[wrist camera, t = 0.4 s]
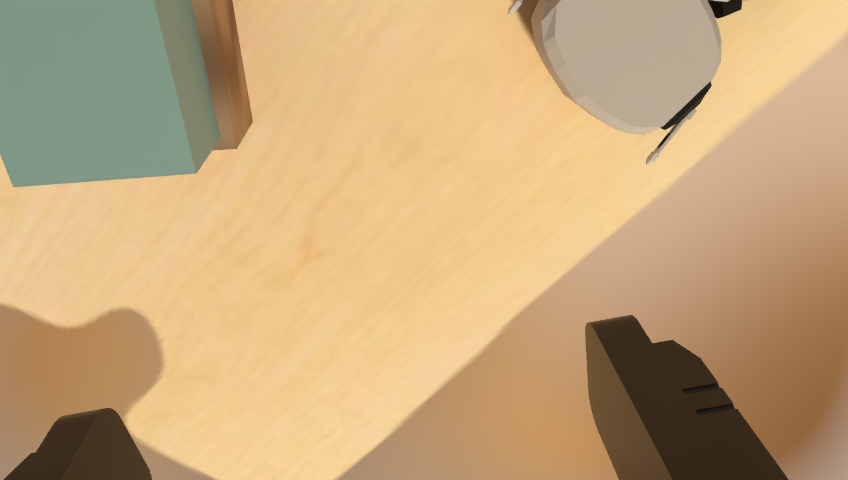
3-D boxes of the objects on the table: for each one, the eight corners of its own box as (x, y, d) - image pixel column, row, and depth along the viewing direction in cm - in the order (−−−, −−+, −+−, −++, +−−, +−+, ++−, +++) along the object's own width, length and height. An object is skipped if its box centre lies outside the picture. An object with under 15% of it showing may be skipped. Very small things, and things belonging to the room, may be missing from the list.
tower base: (50, -39, 32) (-2, -31, 28) (225, -46, 32) (201, -40, 28) (99, 128, 36) (60, 158, 32) (253, 120, 37) (236, 148, 32)
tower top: (5, -19, 28) (-64, -7, 23) (184, -31, 28) (148, -20, 24) (64, 149, 32) (13, 187, 27) (220, 137, 32) (196, 173, 27)
